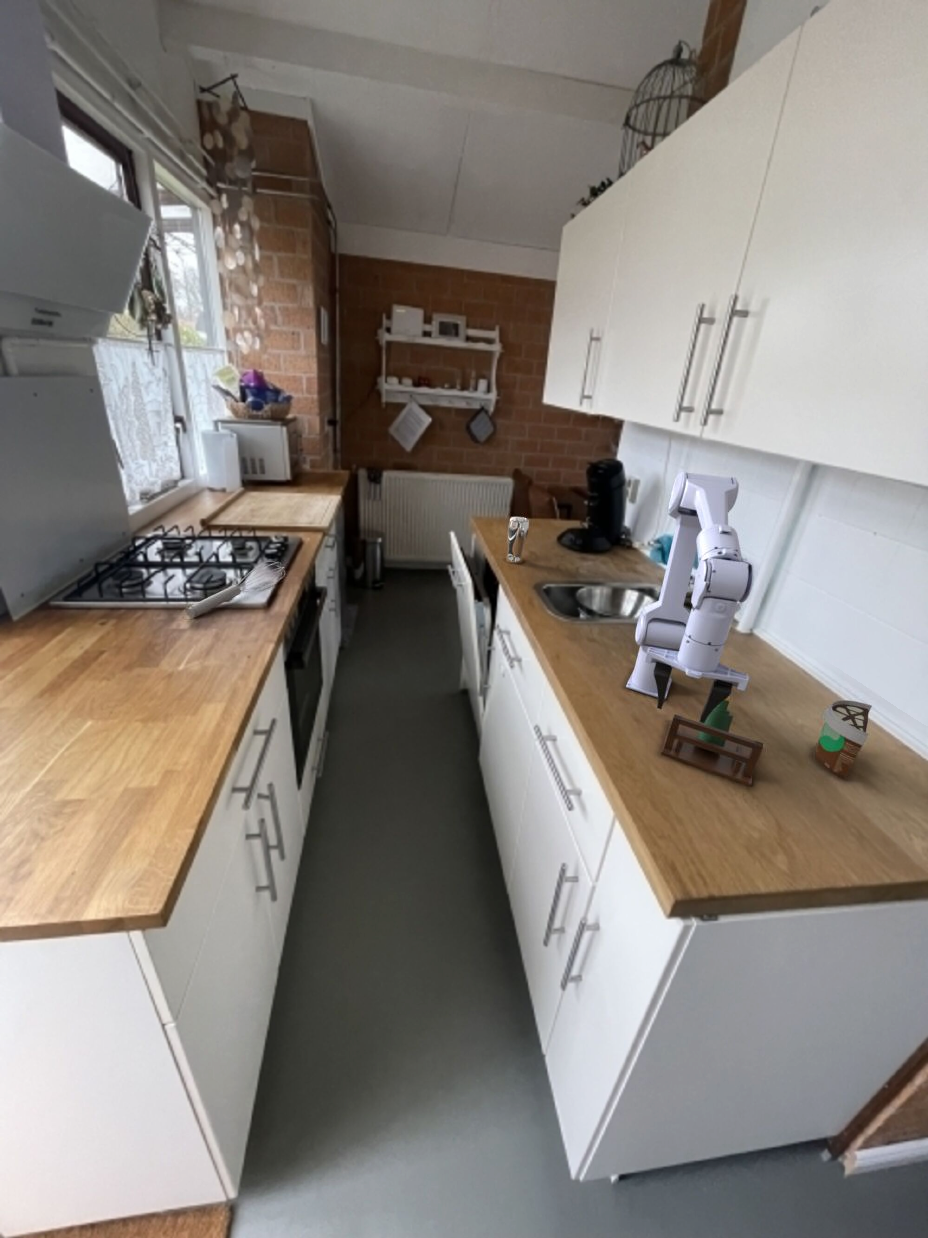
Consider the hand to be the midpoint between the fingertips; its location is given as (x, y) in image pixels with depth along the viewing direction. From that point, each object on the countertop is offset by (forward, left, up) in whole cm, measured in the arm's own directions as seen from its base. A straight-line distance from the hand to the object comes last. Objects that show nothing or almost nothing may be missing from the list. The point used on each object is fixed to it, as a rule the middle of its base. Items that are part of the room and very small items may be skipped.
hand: (680, 712), depth 82 cm
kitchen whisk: (-3, -106, -10) cm, 107 cm away
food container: (-18, +25, -10) cm, 32 cm away
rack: (-7, +6, -10) cm, 14 cm away
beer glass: (-84, -64, -10) cm, 106 cm away
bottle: (-7, +6, -8) cm, 13 cm away
